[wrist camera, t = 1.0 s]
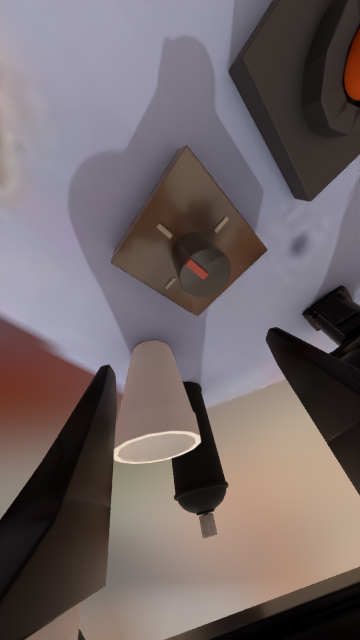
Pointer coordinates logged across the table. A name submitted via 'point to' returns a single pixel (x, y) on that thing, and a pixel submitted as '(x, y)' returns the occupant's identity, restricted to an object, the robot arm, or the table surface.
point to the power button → (353, 69)
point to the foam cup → (154, 409)
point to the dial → (200, 265)
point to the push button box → (303, 89)
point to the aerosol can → (200, 469)
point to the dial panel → (185, 230)
